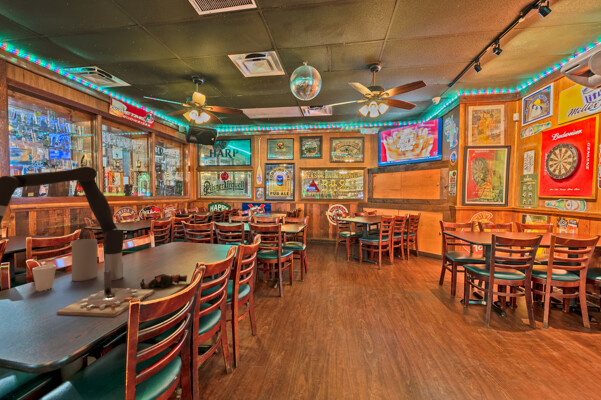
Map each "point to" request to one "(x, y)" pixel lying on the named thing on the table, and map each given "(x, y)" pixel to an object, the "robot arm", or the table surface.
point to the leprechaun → (164, 281)
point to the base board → (108, 310)
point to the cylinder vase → (84, 259)
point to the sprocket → (108, 295)
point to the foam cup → (44, 276)
